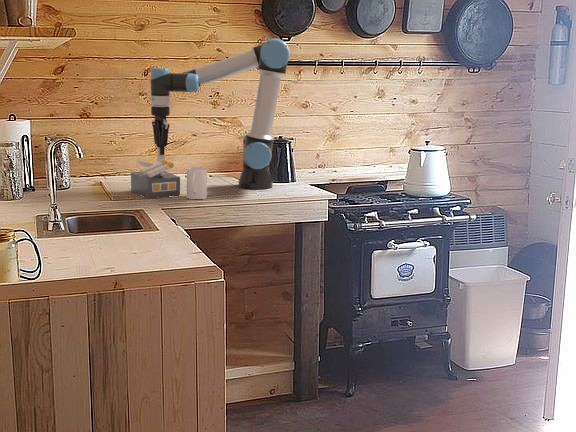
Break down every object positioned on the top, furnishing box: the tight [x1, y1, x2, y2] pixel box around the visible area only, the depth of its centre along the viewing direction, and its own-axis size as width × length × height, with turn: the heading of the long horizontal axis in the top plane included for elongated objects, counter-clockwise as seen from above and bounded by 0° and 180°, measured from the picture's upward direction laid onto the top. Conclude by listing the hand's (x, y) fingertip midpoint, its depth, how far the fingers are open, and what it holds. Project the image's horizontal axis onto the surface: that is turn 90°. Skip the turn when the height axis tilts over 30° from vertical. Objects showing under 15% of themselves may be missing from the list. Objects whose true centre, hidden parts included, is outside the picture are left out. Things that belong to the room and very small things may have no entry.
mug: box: [185, 166, 208, 200], centre depth 308 cm, size 12×8×12 cm
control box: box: [130, 171, 181, 199], centre depth 315 cm, size 14×18×10 cm
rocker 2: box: [139, 160, 168, 175], centre depth 314 cm, size 11×3×2 cm, turn 121°
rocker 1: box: [136, 159, 155, 168], centre depth 319 cm, size 11×3×2 cm, turn 124°
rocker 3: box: [146, 162, 175, 178], centre depth 309 cm, size 11×3×2 cm, turn 121°
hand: (161, 162), depth 321 cm, fingers closed
